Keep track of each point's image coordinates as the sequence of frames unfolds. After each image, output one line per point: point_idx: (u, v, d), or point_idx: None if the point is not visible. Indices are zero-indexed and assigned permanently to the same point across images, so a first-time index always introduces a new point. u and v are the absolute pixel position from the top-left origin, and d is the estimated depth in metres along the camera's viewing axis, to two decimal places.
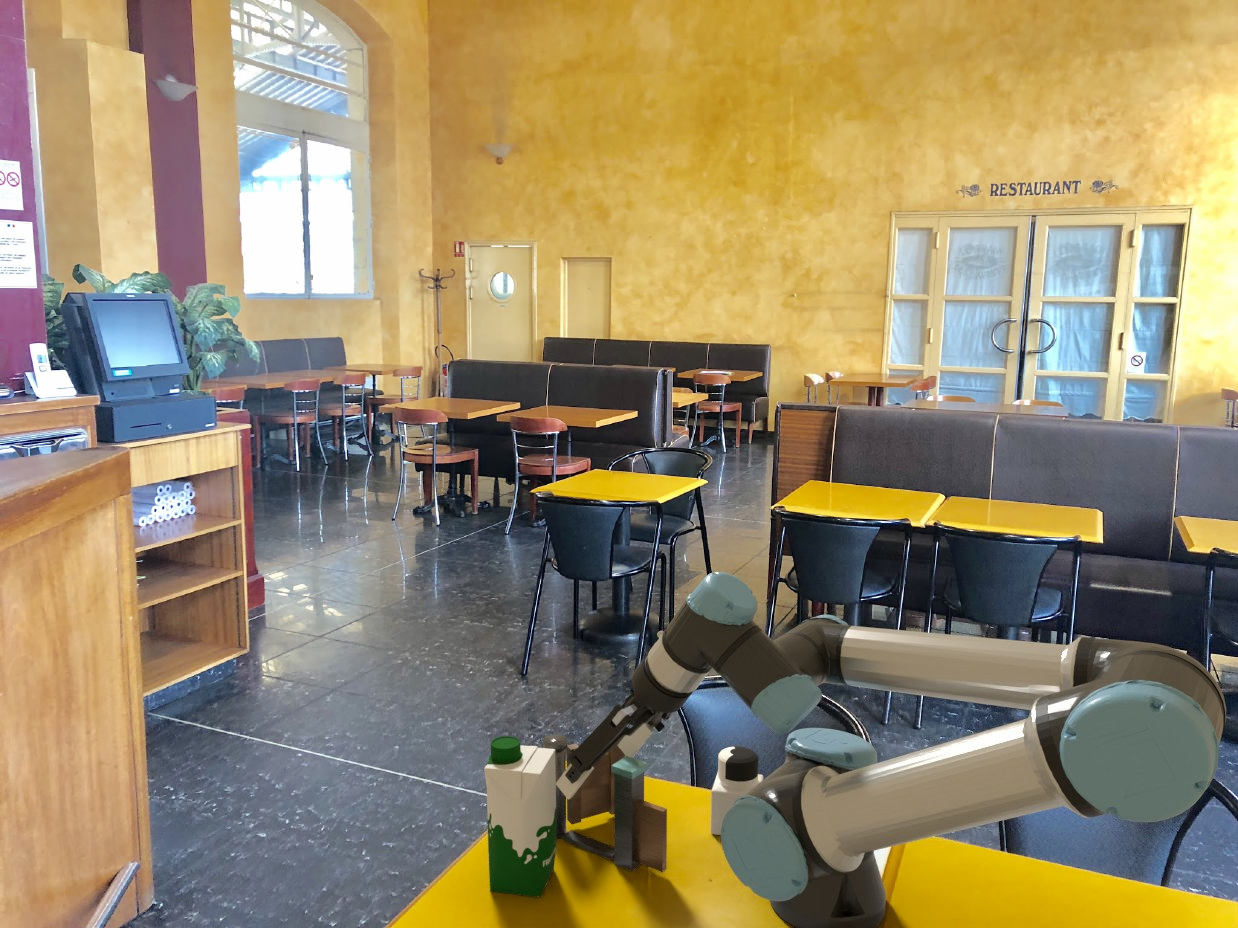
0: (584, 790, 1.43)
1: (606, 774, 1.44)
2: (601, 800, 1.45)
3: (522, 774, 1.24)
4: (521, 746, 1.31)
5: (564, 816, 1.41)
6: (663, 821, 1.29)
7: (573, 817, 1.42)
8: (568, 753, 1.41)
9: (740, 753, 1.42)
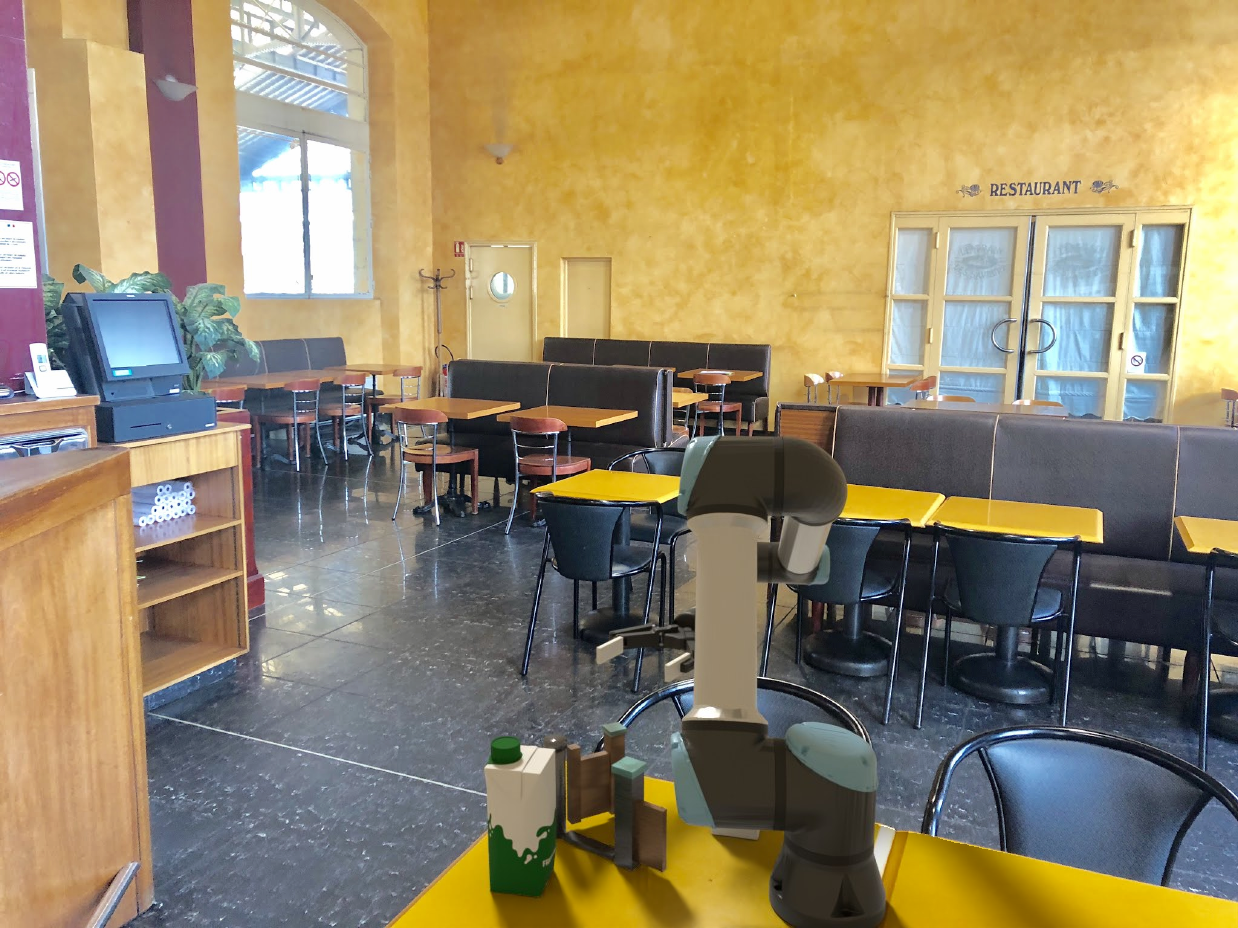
0: (584, 790, 1.43)
1: (606, 774, 1.44)
2: (601, 800, 1.45)
3: (522, 774, 1.24)
4: (521, 746, 1.31)
5: (564, 816, 1.41)
6: (663, 821, 1.29)
7: (573, 817, 1.42)
8: (568, 753, 1.41)
9: None
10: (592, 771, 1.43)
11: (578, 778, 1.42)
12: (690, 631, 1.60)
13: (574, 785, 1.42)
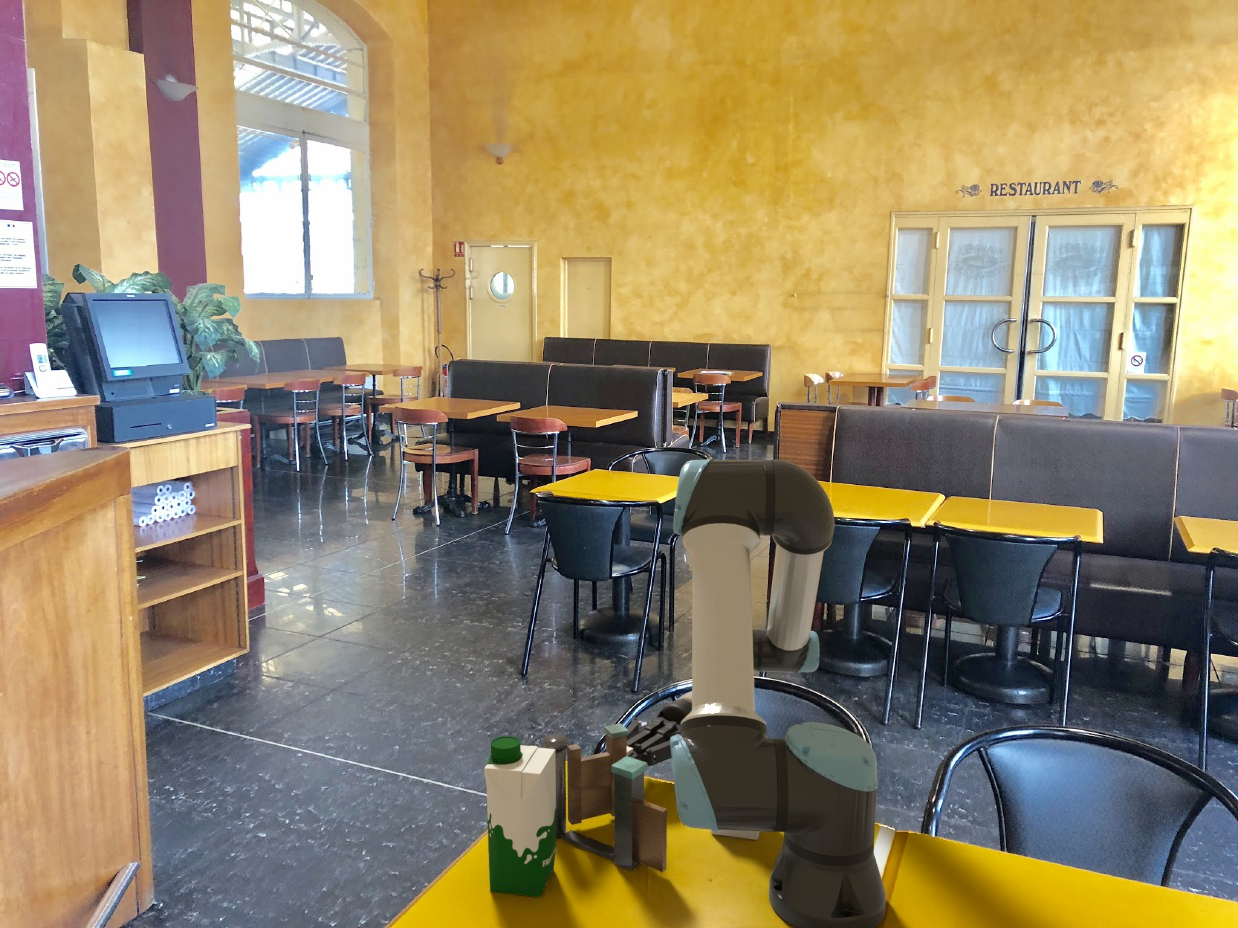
0: (584, 790, 1.43)
1: (607, 776, 1.44)
2: (602, 801, 1.44)
3: (522, 774, 1.24)
4: (521, 746, 1.31)
5: (564, 816, 1.41)
6: (663, 821, 1.29)
7: (573, 818, 1.42)
8: (568, 753, 1.41)
9: None
10: (593, 772, 1.43)
11: (578, 779, 1.42)
12: (671, 726, 1.58)
13: (574, 786, 1.41)
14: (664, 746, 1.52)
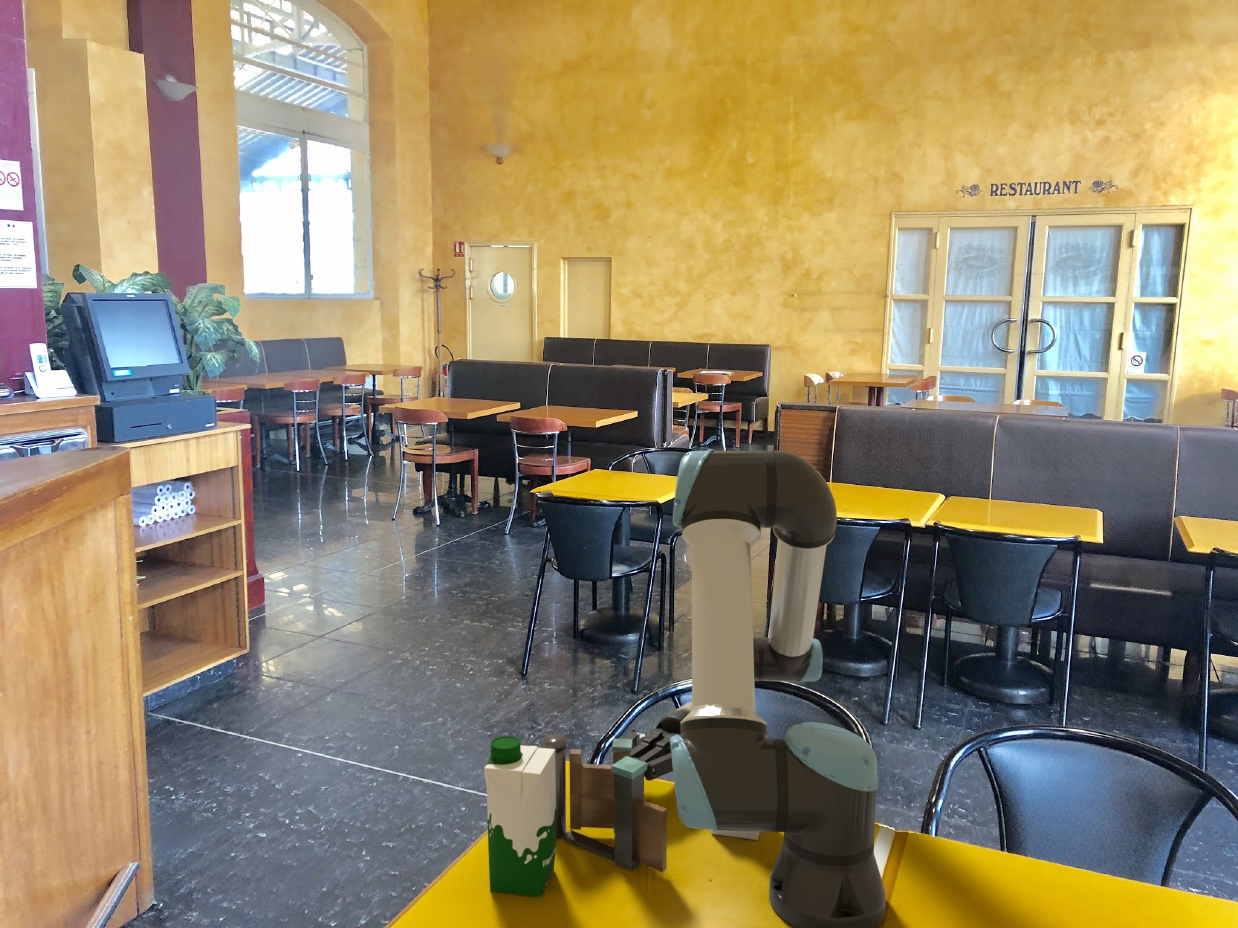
0: (584, 798, 1.40)
1: (610, 789, 1.40)
2: (604, 814, 1.40)
3: (522, 774, 1.24)
4: (521, 746, 1.31)
5: (564, 816, 1.41)
6: (663, 821, 1.29)
7: (572, 822, 1.41)
8: None
9: None
10: (594, 782, 1.40)
11: (577, 784, 1.40)
12: (670, 738, 1.53)
13: (573, 790, 1.40)
14: (664, 760, 1.47)
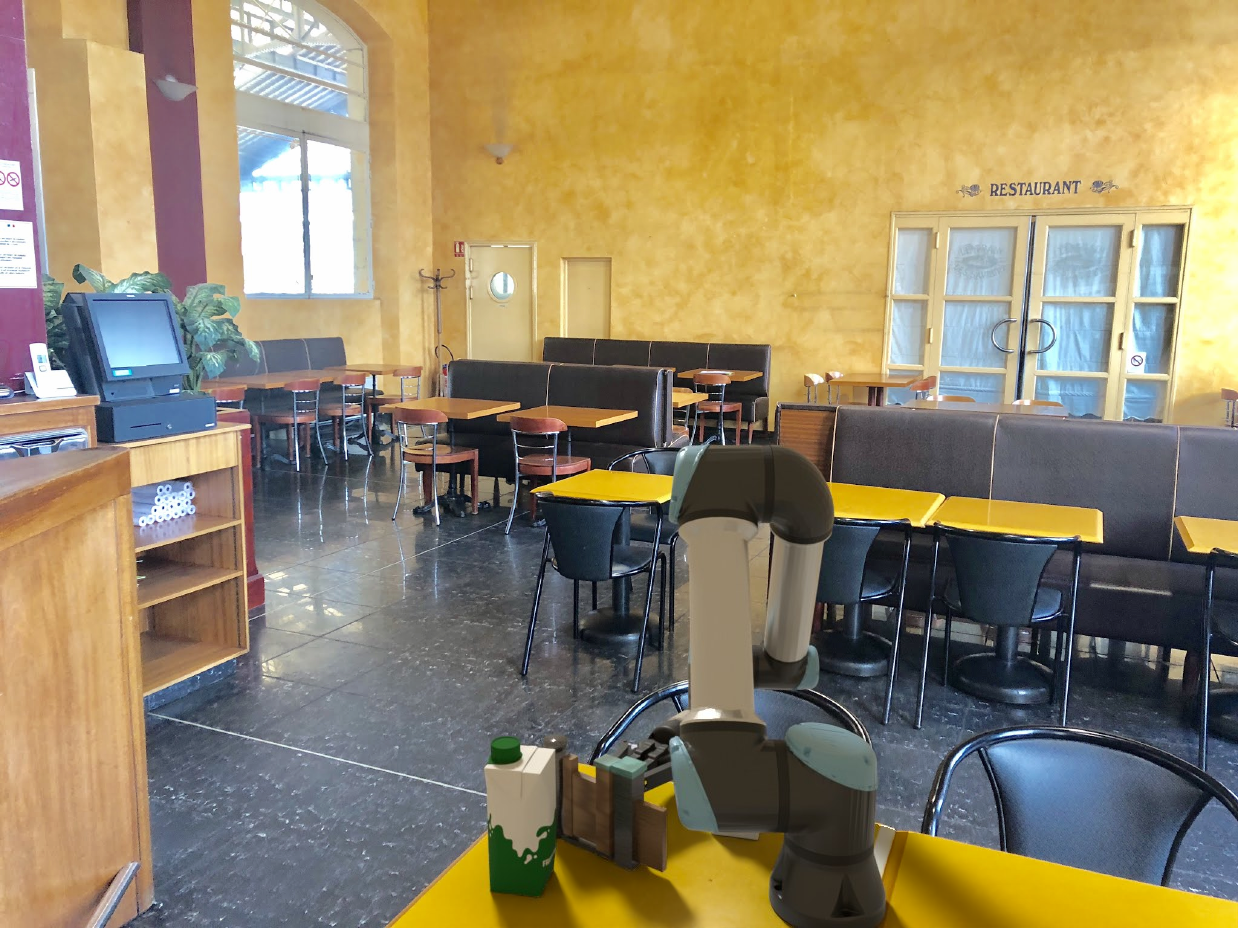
0: (575, 806, 1.38)
1: (595, 804, 1.35)
2: (591, 828, 1.37)
3: (522, 774, 1.24)
4: (521, 746, 1.31)
5: None
6: (663, 821, 1.29)
7: (565, 826, 1.40)
8: None
9: None
10: (582, 792, 1.37)
11: (569, 790, 1.38)
12: (662, 749, 1.49)
13: (565, 795, 1.39)
14: (656, 772, 1.43)
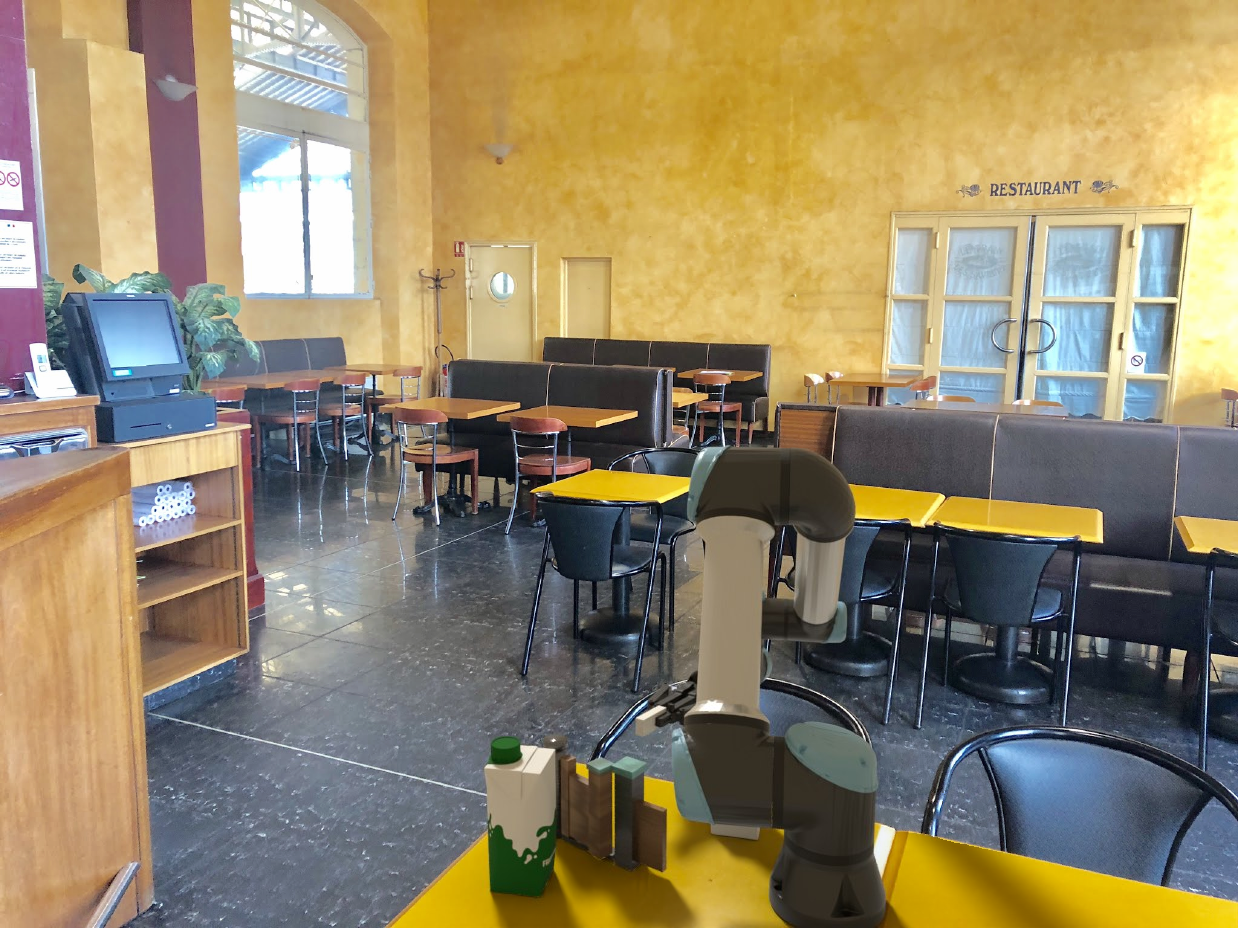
0: (572, 807, 1.38)
1: (589, 807, 1.35)
2: (585, 831, 1.36)
3: (522, 774, 1.24)
4: (521, 746, 1.31)
5: None
6: (663, 821, 1.29)
7: (562, 827, 1.39)
8: None
9: None
10: (578, 794, 1.36)
11: (566, 791, 1.38)
12: None
13: (563, 795, 1.39)
14: None
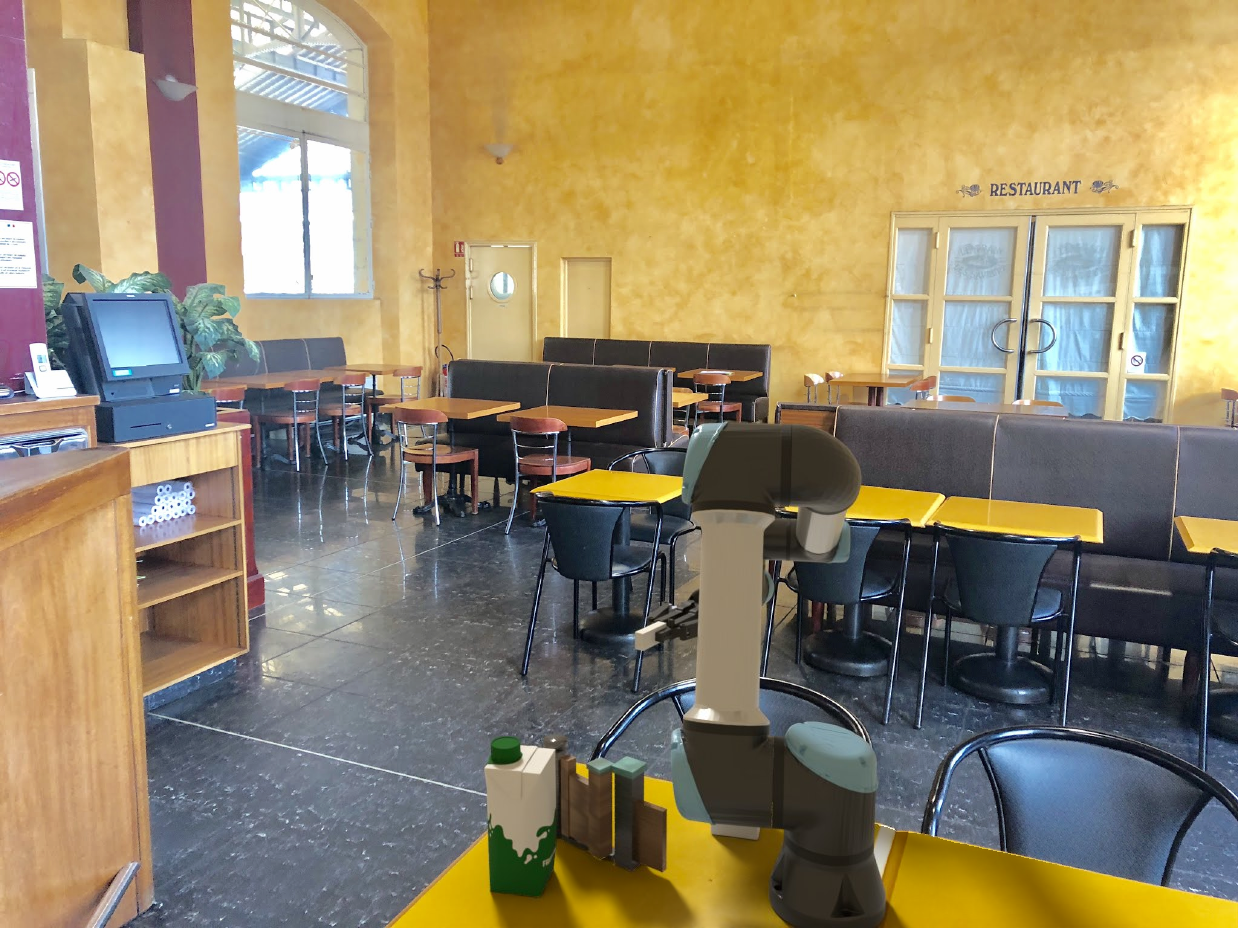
0: (572, 807, 1.38)
1: (589, 807, 1.35)
2: (585, 831, 1.36)
3: (522, 774, 1.24)
4: (521, 746, 1.31)
5: None
6: (663, 821, 1.29)
7: (562, 827, 1.39)
8: None
9: None
10: (578, 794, 1.36)
11: (566, 791, 1.38)
12: None
13: (563, 795, 1.39)
14: (697, 622, 1.50)
